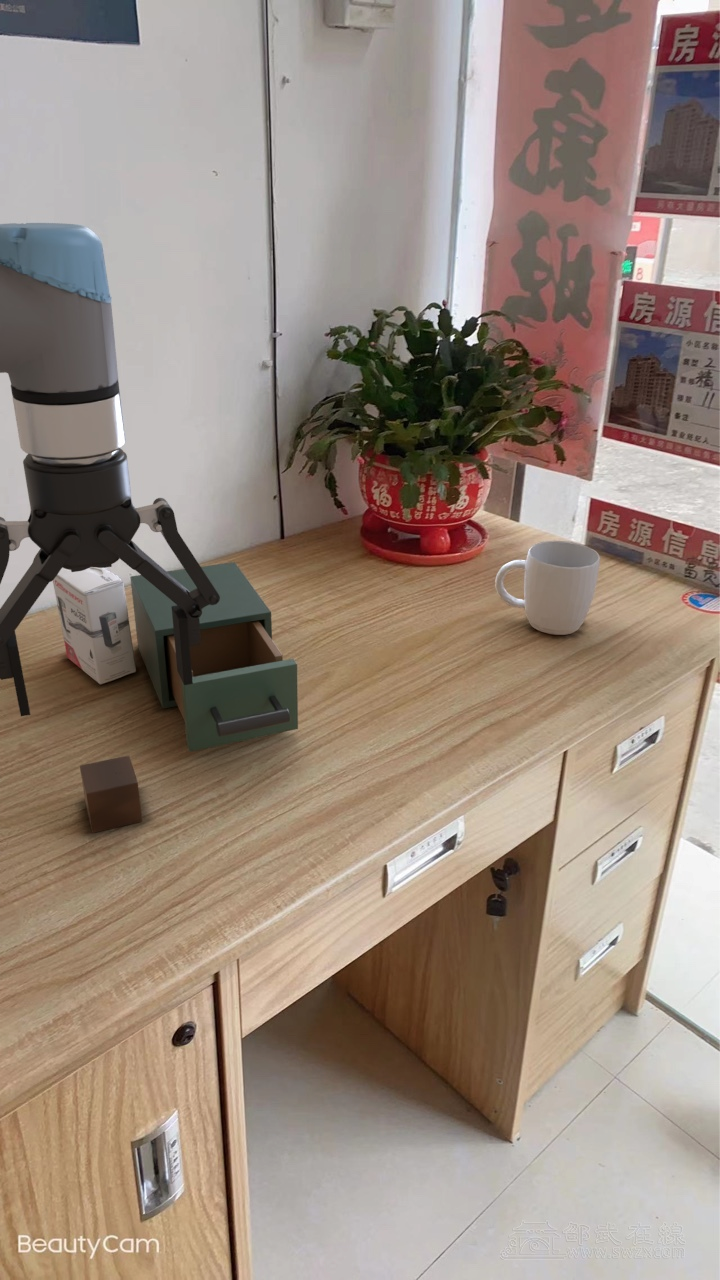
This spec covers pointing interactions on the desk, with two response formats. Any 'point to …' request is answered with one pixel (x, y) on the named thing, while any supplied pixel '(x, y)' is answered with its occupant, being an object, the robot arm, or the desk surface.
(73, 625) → the ink box
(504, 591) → the mug
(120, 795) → the block
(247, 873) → the desk surface
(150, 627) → the cabinet
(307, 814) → the desk surface
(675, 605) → the desk surface
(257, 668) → the drawer
